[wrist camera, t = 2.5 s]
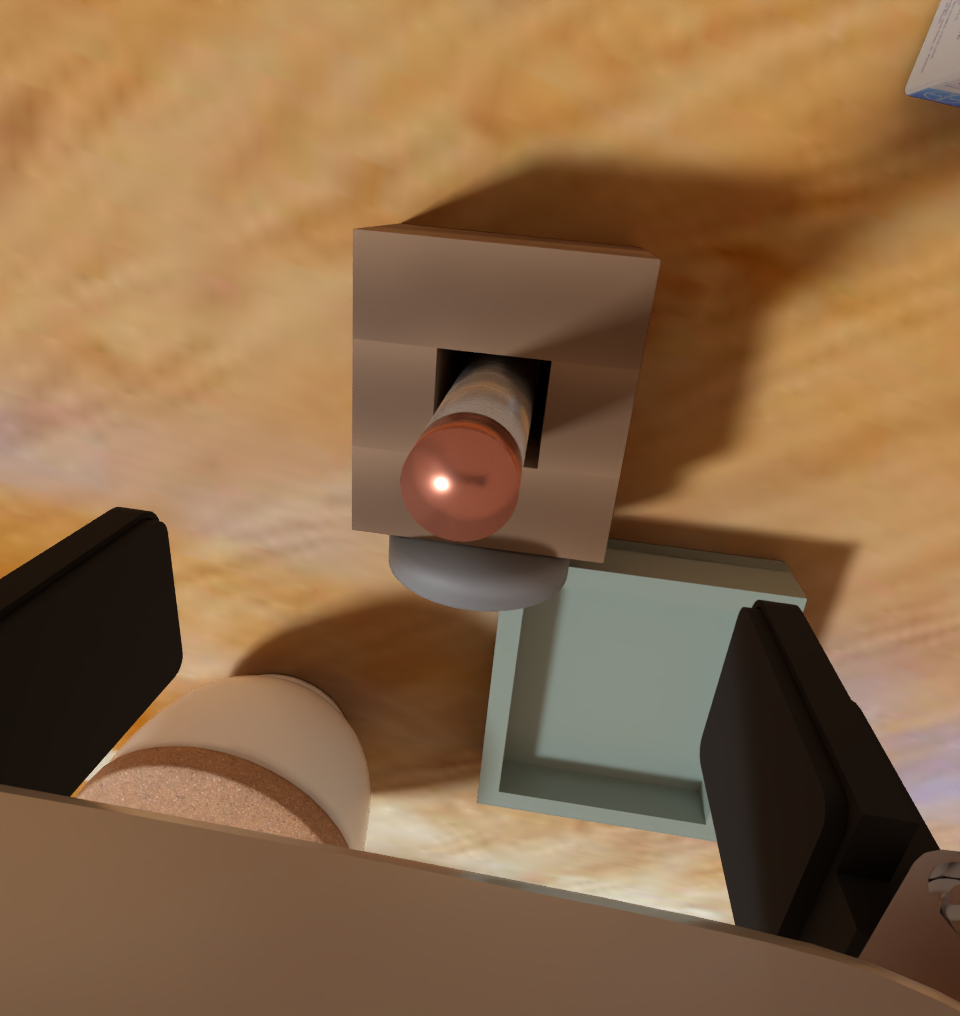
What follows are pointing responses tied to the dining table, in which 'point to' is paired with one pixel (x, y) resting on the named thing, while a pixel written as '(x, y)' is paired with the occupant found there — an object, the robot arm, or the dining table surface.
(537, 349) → the block
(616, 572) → the tray
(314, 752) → the lidded bowl
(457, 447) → the lock pin
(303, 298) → the dining table surface
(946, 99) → the medicine box
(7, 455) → the dining table surface
